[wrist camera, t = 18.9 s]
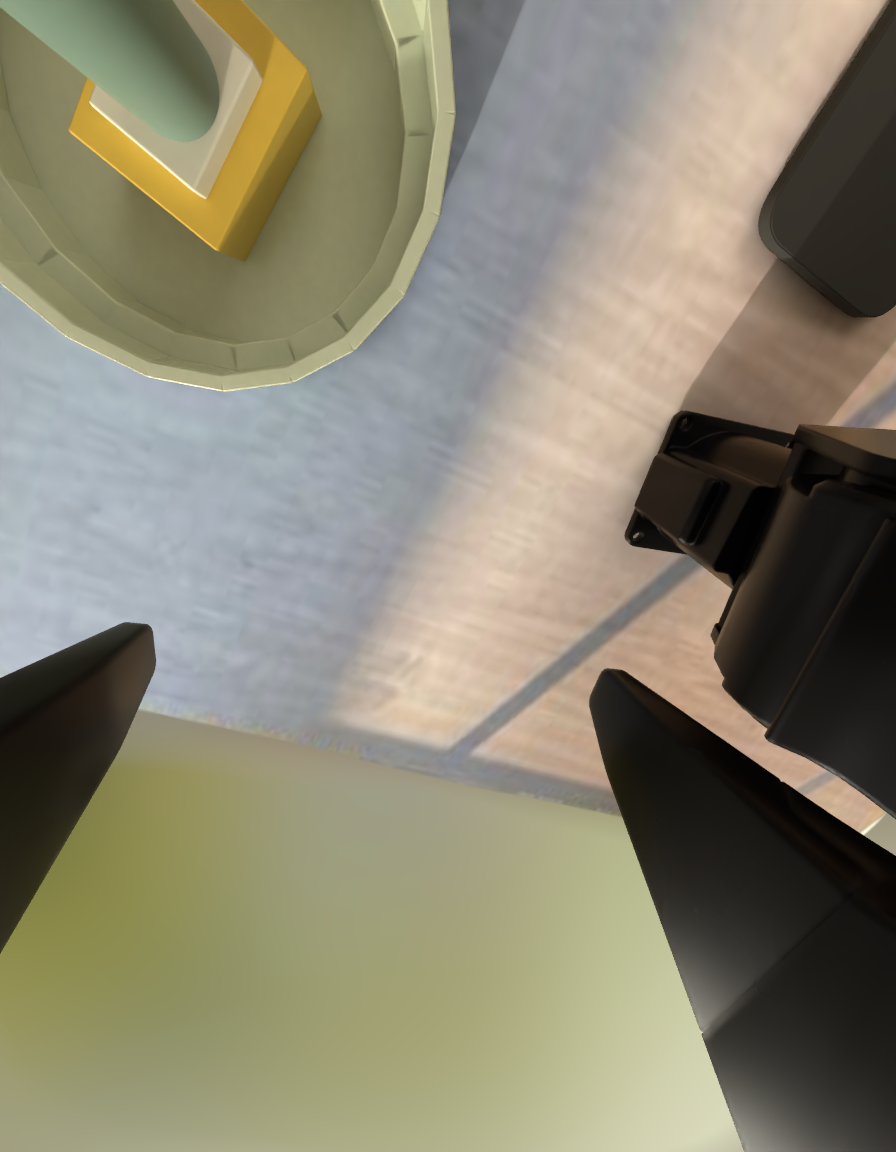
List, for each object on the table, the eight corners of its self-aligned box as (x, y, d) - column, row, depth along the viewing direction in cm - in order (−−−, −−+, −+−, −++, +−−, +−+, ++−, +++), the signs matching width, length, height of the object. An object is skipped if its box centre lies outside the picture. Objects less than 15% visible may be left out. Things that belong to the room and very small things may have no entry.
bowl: (483, -109, 13) (517, -268, 9) (403, 408, 19) (406, 427, 16) (-121, -367, 10) (-387, -723, 7) (18, 331, 17) (-81, 334, 13)
